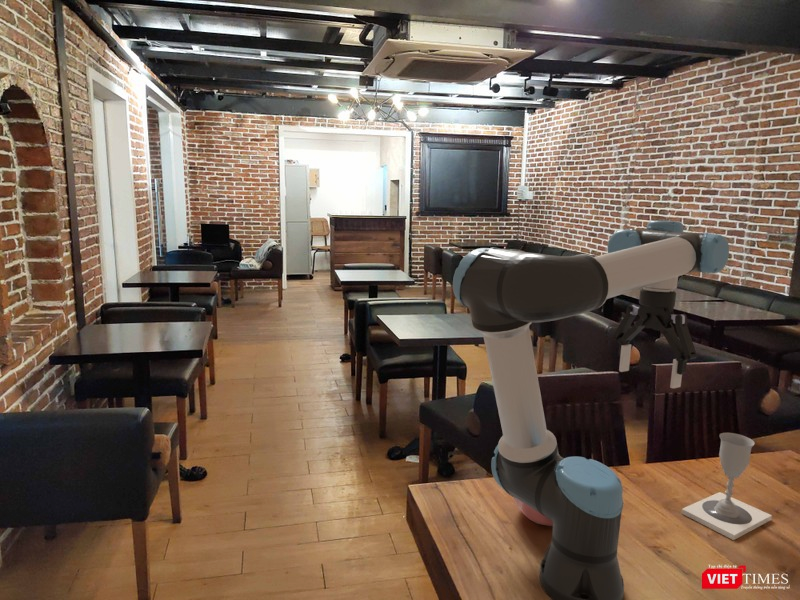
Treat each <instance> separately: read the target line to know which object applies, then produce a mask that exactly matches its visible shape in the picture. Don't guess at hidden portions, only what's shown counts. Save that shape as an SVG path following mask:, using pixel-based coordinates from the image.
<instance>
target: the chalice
mask: <svg viewBox="0 0 800 600" xmlns="http://www.w3.org/2000/svg"><path fill="white" fill-rule="evenodd" d="M719 439H720V447H719V453H718V457H719V461H720V466H721V468H722V469H723V472H724V473H723V474H724V475H725V477H728V480H727V482H726V487H727V488H726V490H724V492H725V493H724V494H725V495H726V498H725V499H722V500H720V501H719V502H718V503H717V504H716V506H715V507H714V510H715V511H716V512H717V513H719V514H720V515H723V516H726V517H730V518H736V517H738V516H739V513H738V510H737V507H736V505H735V503H734V502H732V501H731V497H732V496H733V495H734V492H733V488H734V487H735V484H734V479H739V478H740V477H741V476H742V474H743V473H744V472H745V470H747V467H748V466H749V464H750V459H751V454H752V453H751V452H752V448H753V447H754V445H755V444H756V443H755V441H754V440H753V439H751V438H750V437H747V436H745V435H742V434H739V433H735V432H734V433H733V432H722V433H719Z"/></svg>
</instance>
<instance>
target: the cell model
mask: <svg viewBox="0 0 800 600" xmlns="http://www.w3.org/2000/svg"><path fill="white" fill-rule="evenodd" d="M513 501H514V502H515V505H516V506H517V507H518V509H519V511H521V512H522V514H523V515H524V516H525V517H526V518H527V519H528V520H530V521H532V522H534V523H535V524H537V525H541V526H542V525H543V526H548V527H552V528H553V522H552V521H551V520H550V519H548V518H547V517H545V516H543V515H542V514H540V513H539V512H537V511H536V510H534V509H532V508H531V507H529V506H528V505H526V504H524V503H523V502H521V501H520V500H518V499H517V498H515V497H513Z"/></svg>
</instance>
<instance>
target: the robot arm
mask: <svg viewBox="0 0 800 600" xmlns="http://www.w3.org/2000/svg"><path fill="white" fill-rule="evenodd" d="M606 248H607V253H605V254H601V255H595V256H593V255H590V254H586V253H580V254H576V255H571V256H570V255H568V256H566V255H565V256H564V255H553V254H544V253H538V252H537V253H536V252H527V251H526V252H525V251H519V250H511V249H503V248H501V247H500V248H499V247H493V246H492V247H490V248H489V247H480V248H479V247H478V248H476V249H473V250H471V251H470V252H469V253H466V254H465V256H463V258H462V259H461V260H460V262H459V264H458V267H456V269H455V270H454V274H453V278H452V279H453V280H452V291H453V294H454V297H455V299H456V300H457V302H458V303H459V304H461V306H463V307H464V308H466V309H469V314H470V318H471V324H472V327H473V329H474V330H475V331H477V332H479V333H480V334H482V336H483V340H484V341H483V342H484V346H485V350H486V351H485V353H486V355H487V361H488V362H487V363H488V365H489V372H490V375H491V381H492V387H493V392H494V396H495V401H496V406H497V410H498V416H499V420H500V421H499V422H500V425H501V427H500V428H501V430H502V436H500V439H499V441H498V442H497V443H498V444H497V445H496V446H495V449H494V450H493V453H494V456H493V457H492V458H491V463H490V464H491V473H492V477H493V480H494V481H495V482H496V484H497V485H498V486H499V487H500V488H501V489H503V491H504V492H506V493H507V494H508V495H509V496H511V497H512V498H514V497H515V498H517V499H518V500H520V501H521V502H523V503H524V504H526V505H528V506H529V507H531V508H532V509H534V510H536V511H537V512H539V513H540V514H542V515H543V516H545V517H547V518H548V519H550V520H551V521H552V522H553V527H552V532H551V541H550V543H549V545H548V547H547V549H546V551H545V553H544V555H543V557H542V560H541V562H540V566H539V576H538V577H539V578H538V579H539V580H538V581H539V584H540V586H541V587H542V590H543V591H544V592H545V594H546V595H547V596H549V598H551V599H552V600H624V594H625V593H624V592H625V582H624V578H623V576H622V573H621V569H620V562H619V559H618V548H619V547H618V546H619V538H620V529H621V520H622V512H623V508H624V500H623V491H624V489H623V486H622V485H623V483H622V481H621V479H620V477H619V476H618V475H617V473H616V472H615V471H614V470H613V469H611V468H610V467H608V466H607V465H605V464H604V463H602V462H600V461H597V460H596V459H592V458H589V459H588V458H586V457H583V456H567V457H565V458H564V457H562V456H561V455H560V454H559V447H558V443H557V438H556V436H555V435H554V433H553V432H552V431H550V430H549V429H547V423H546V417H545V413H544V407H543V401H542V400H543V399H542V395H541V390H540V388H541V387H540V382H539V377H538V376H539V375H538V372H537V371H538V370H537V366H536V360H535V355H534V354H535V353H534V347H533V343H532V342H533V341H532V337H531V335H532V334H531V331H530V325H532V323H545V322H551V321H558V320H562V319H566V318H570V317H574V316H578V315H582V314H585V313H589V312H592V311H595V310H597V309H599V308H600V307H602V306H603V305H604V304H605V303H606V301H607V300H608V299H611V298H614V297H617V296H621V295H624V294H628V293H629V292H630V293H631V292H634V291H636V290H639V299H638V303H639V307H638V305H637V304H630V305H627V307H626V310H625V314H624V316H623V318H622V320H621V322H620V323H619V324H618V326H617V328H616V329H615V332H614V333H613V335H612V338H611V339H612V340H613V341H616V342H617V343H618V353H617V355H618V357H619V367H618V368H619V369H618V371H619V372H620V373H623V372H624V373H625V372H628V371H630V362H631V353H632V344H631V341H632V340H633V339H634V338H636V336H637V335H638V334H639V333H641V331H642V330H643V329H652V330H653V331H657V332H658V331H659V332H660V333H661V334H662V335H663V336H664V338H665V340H666V342H667V343H668V345H669V347H670V349H671V350H672V352H673V353H674V356H675V357H676V358H673V360H672V367H671V368H672V369H671V375H670V386H669V388H671V389H677V388H681V386H682V377H683V375H685V374H686V373H687V367H688V366H687V364H688V361H690V360H694V359H697V358H698V355H697V351H696V349H695V346H694V342H693V340H692V336H691V333H690V330H689V326H688V315H687V314H685V313H684V314H683V313H682V314H675V313H674V308H675V306H676V298H677V292H676V291H675V290H676V289H677V288H678V281H679V280H678V279H679V277H680V276H683V275H688V274H690V273H691V274H692V273H702V274H718V273H719V272H721V271H722V270H723V269H724V268H725V267H726V265H727V263H728V261H729V257H730V246H729V241H728V239H727V238H726V237H725V236H724V235H721V234H718V233H716V234H715V233H709V232H684V224H683V223H682V222H681V221H678V220H649V221H648V222H647V224H646V228H645V229H642V228H641V229H639V228H638V229H637V228H626V229H619V230H617V231H615V232H613V233H612V234H611V236H610V237H609V239H608V242H607V247H606ZM637 315H638V317H639V318H638V319H637V321H635V322H634V320H635V319H636V317H637ZM633 322H634V325H632V323H633ZM672 323H673V324H674V325H675V327H674V326H673V324H672ZM631 325H632V327H631ZM630 327H631V328H630ZM675 329H676V330H675ZM675 331H676V332H675Z"/></svg>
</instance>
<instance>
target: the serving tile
mask: <svg viewBox="0 0 800 600" xmlns="http://www.w3.org/2000/svg"><path fill="white" fill-rule="evenodd" d="M725 498H726V493H723V492H720V491H719V492H717V493H715V494H712V495H710V496H708V497H704V498H703V499H701V500H699V501H696V502H694V503H692V504H689V505H687V506H685V507H683V508H681V512H680V514H681V515H683V516H685V517H688V518H690V519H691V520H693V521H696V522H697V523H699V524H701V525H703V526H705V527H707V528H708V529H711V530H713V531H715V532H717V533H719V534H720V535H723V536H724V537H726V538H728V539H730V540H732V541H735V540H736V539H739V538H740V537H742V536H744V535H746V534H748V533H750V532H751V531H753V530H755V529H757V528H759V527H761V526H762V525H763V526H764V525H765V524H767V523H768V522H770V521H772V516H773V515H772V514H769V513H768V512H765V511H763V510H761V509H759V508H757V507H754V506H753V505H750V504H747V503H746V502H743V501H741V500H739V499H736V498H734V497H732V496H731V501H732V502H734V503H735V505H736V507H737V510H738V513H739V516H738V517H736V518H730V517H726V516H723V515H720V514H719V513H717V512H716V511H715V510H714V507H715V506H716V504H717V503H718V502H719V501H720V500H722V499H725Z"/></svg>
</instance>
